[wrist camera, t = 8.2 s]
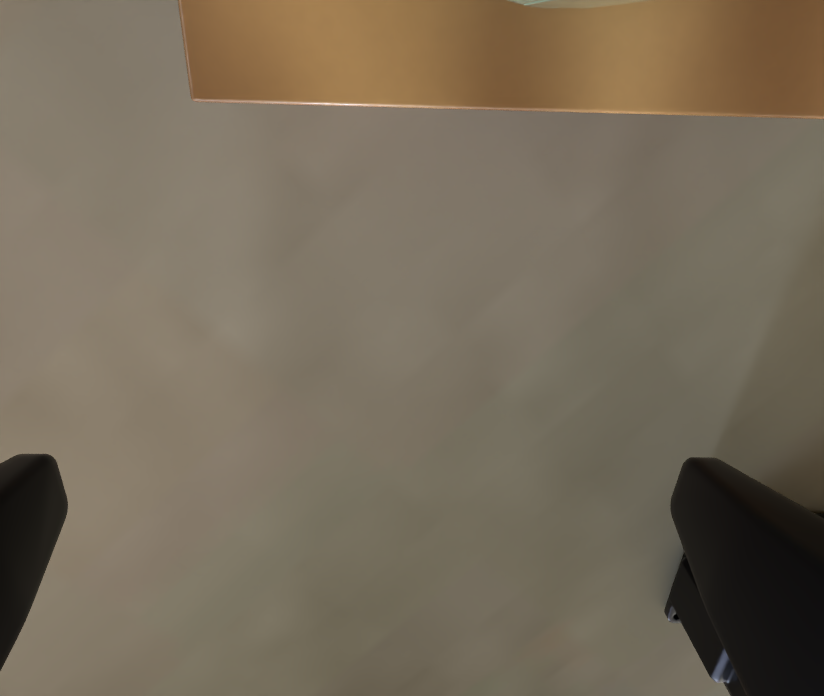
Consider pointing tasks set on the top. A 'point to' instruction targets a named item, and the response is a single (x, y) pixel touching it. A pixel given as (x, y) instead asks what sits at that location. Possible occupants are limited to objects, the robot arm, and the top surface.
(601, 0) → the ramekin
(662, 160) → the top surface
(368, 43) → the shelf
